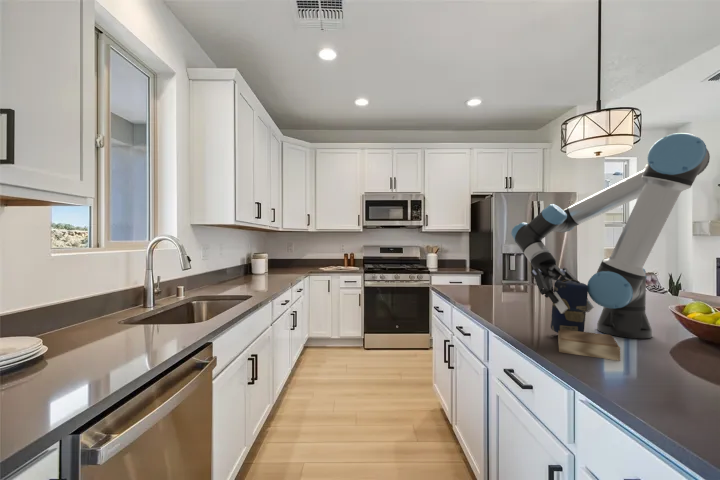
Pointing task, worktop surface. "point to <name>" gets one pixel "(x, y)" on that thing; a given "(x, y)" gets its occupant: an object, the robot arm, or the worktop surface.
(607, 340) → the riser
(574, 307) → the canister
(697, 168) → the robot arm
